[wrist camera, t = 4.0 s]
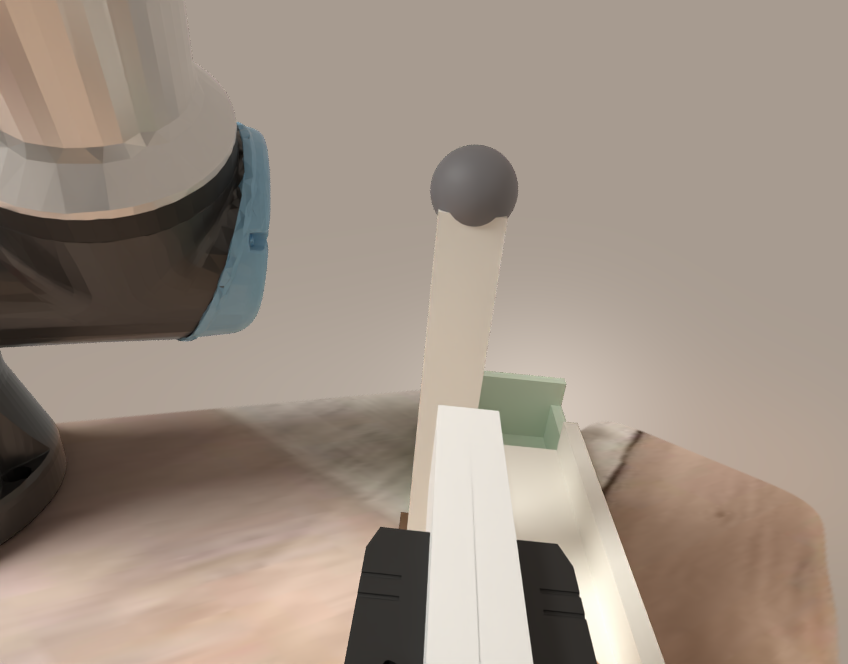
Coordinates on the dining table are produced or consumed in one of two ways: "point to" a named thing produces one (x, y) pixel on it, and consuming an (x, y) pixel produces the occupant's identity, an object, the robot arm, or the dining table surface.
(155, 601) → the dining table surface
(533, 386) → the tray
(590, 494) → the seesaw
